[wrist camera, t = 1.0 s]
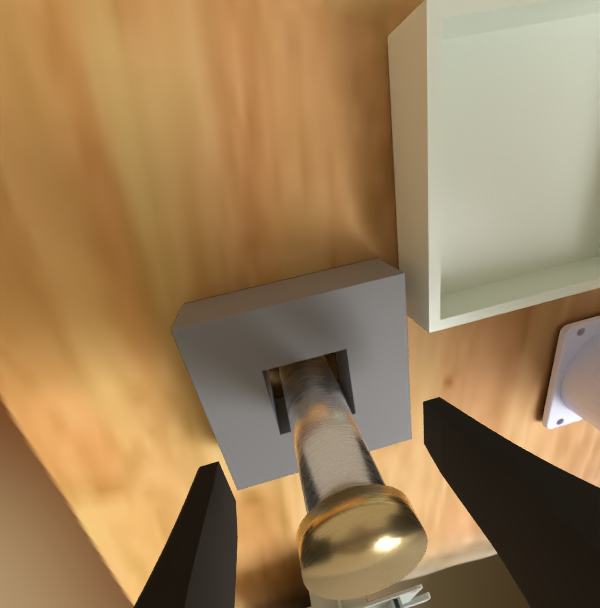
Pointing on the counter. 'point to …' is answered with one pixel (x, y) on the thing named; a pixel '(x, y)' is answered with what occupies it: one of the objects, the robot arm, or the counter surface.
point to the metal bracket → (393, 604)
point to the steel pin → (344, 494)
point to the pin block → (296, 347)
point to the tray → (495, 155)
